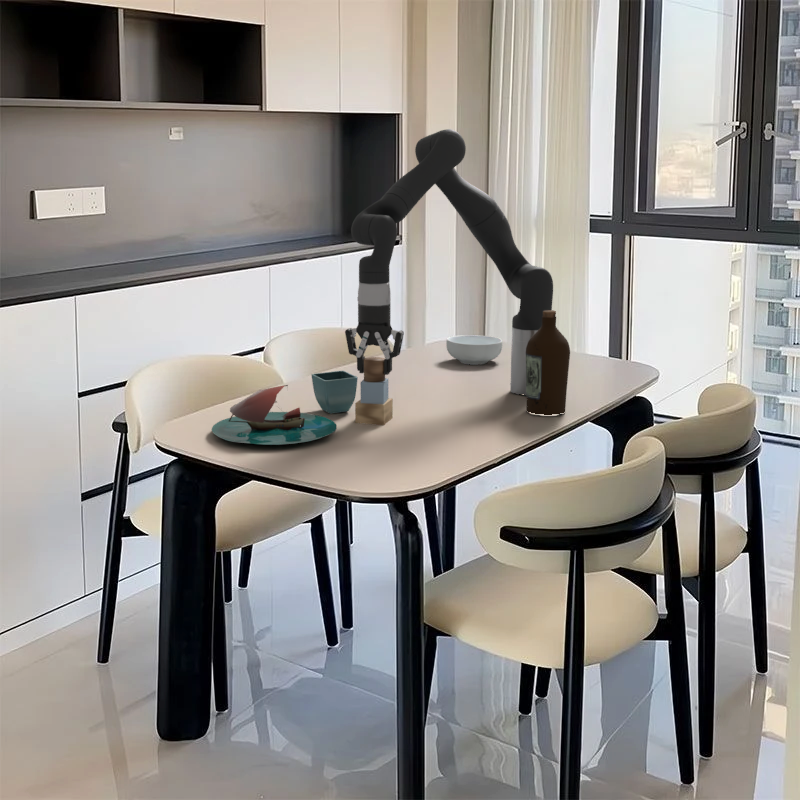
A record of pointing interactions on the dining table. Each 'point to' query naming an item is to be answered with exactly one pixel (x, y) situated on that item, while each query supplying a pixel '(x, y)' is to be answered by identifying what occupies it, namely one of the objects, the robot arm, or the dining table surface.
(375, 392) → the mid block
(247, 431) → the sailing ship model
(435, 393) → the dining table surface
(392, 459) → the dining table surface
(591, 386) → the dining table surface
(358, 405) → the base block
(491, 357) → the cereal bowl
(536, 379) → the olive oil
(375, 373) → the brown rounded cylinder
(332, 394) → the flower pot
